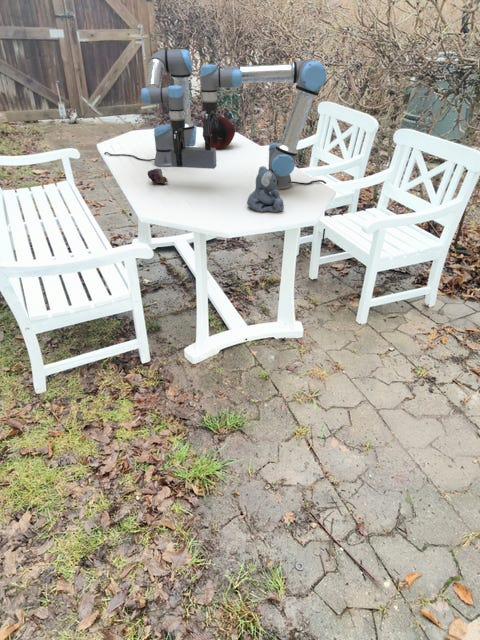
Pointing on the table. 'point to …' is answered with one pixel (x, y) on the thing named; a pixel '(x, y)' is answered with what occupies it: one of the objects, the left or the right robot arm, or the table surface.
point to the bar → (195, 157)
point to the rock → (157, 176)
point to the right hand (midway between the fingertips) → (211, 146)
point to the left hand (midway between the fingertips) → (181, 164)
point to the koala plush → (265, 193)
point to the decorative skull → (222, 133)
